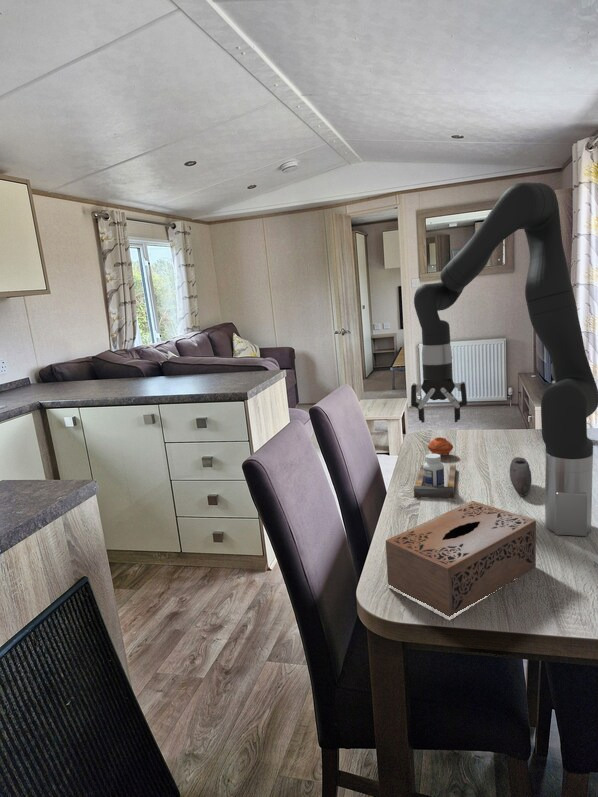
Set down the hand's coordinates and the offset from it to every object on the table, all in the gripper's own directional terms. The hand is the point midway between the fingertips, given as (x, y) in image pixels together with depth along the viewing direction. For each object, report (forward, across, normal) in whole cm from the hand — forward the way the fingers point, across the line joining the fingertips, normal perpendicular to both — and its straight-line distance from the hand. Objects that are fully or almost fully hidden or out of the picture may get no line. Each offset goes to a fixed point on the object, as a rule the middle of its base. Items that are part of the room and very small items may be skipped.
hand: (439, 421), depth 146 cm
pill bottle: (+19, -2, 0) cm, 19 cm away
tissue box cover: (+20, +6, -45) cm, 50 cm away
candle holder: (+19, +37, +52) cm, 66 cm away
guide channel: (+19, -2, +5) cm, 20 cm away
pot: (+19, -2, +29) cm, 35 cm away
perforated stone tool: (+20, +20, +2) cm, 28 cm away
